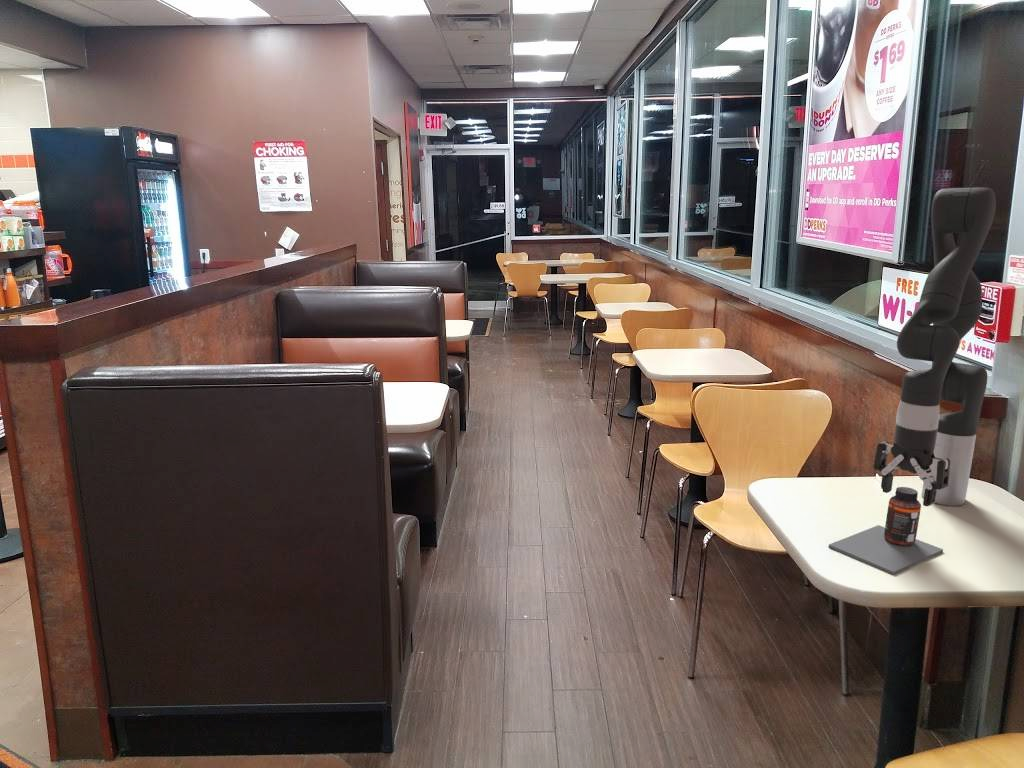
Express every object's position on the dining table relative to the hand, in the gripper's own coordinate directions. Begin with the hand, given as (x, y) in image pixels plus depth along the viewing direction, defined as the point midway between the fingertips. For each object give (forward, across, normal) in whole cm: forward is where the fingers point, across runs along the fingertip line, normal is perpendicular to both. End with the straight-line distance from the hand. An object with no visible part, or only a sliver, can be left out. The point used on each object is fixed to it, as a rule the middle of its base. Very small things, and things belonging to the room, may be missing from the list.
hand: (906, 498), depth 157 cm
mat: (+10, 0, +6) cm, 11 cm away
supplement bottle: (+10, 0, 0) cm, 10 cm away
